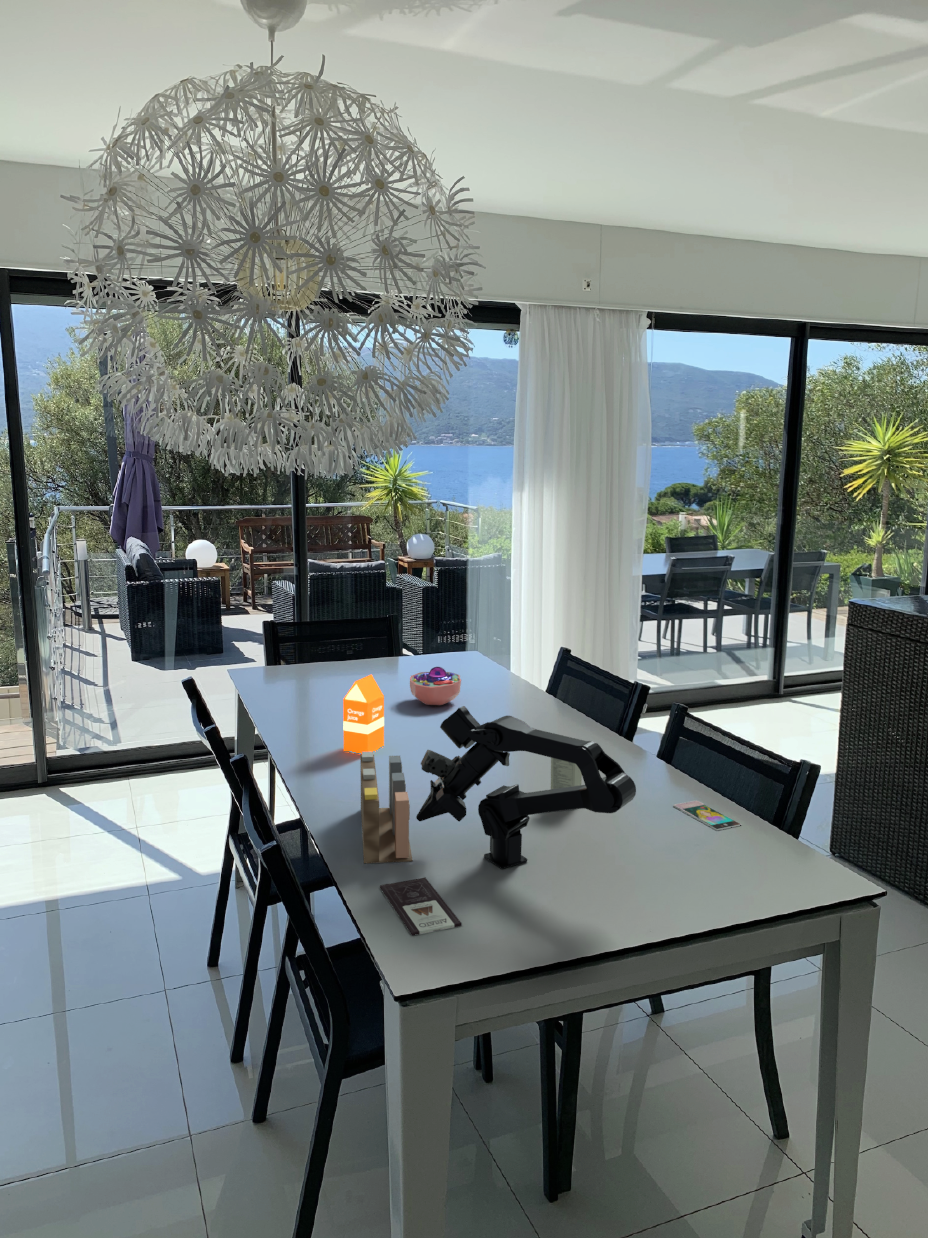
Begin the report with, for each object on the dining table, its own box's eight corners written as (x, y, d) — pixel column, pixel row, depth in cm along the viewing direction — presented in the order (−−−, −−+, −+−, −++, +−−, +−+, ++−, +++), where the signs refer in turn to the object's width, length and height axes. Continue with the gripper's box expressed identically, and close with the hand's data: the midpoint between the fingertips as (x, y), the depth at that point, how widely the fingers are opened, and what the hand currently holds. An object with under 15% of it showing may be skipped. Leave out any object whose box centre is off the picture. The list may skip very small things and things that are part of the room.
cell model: (399, 709, 284) (399, 674, 282) (421, 693, 303) (421, 660, 301) (450, 714, 279) (451, 678, 277) (469, 697, 298) (470, 664, 296)
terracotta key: (408, 847, 184) (408, 791, 181) (409, 857, 179) (410, 800, 177) (394, 848, 183) (394, 792, 181) (396, 858, 179) (396, 800, 177)
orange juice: (384, 746, 248) (384, 675, 244) (368, 756, 240) (367, 683, 236) (360, 742, 251) (359, 672, 248) (342, 751, 243) (342, 679, 240)
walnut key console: (403, 808, 206) (403, 749, 203) (412, 861, 179) (412, 794, 177) (360, 810, 204) (360, 750, 202) (363, 863, 178) (363, 796, 175)
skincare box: (581, 803, 210) (583, 753, 208) (573, 809, 207) (575, 758, 204) (556, 797, 214) (558, 748, 211) (548, 803, 210) (550, 753, 208)
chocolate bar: (425, 877, 172) (461, 923, 155) (425, 882, 172) (461, 928, 155) (379, 885, 168) (412, 932, 152) (379, 890, 168) (412, 938, 152)
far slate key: (400, 806, 205) (401, 755, 203) (402, 813, 201) (402, 762, 198) (388, 806, 205) (389, 755, 203) (390, 814, 200) (390, 762, 198)
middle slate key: (404, 825, 194) (404, 772, 192) (405, 834, 190) (406, 780, 188) (391, 826, 194) (391, 773, 192) (392, 835, 190) (393, 780, 187)
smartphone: (716, 829, 196) (672, 804, 209) (716, 832, 196) (672, 807, 209) (742, 824, 199) (696, 800, 212) (741, 827, 199) (696, 803, 212)
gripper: (441, 724, 187) (387, 776, 188) (449, 754, 169) (390, 811, 170) (478, 759, 190) (425, 811, 191) (490, 792, 172) (432, 849, 172)
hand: (417, 819), depth 181 cm, fingers closed
